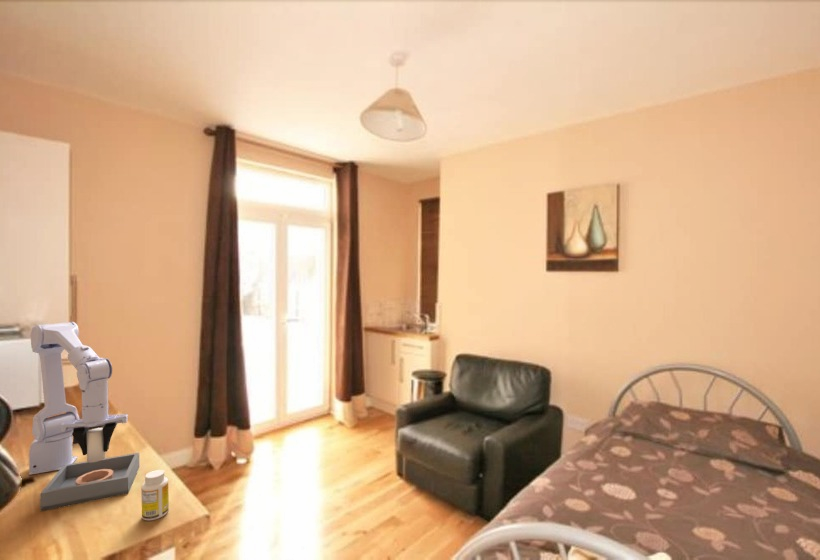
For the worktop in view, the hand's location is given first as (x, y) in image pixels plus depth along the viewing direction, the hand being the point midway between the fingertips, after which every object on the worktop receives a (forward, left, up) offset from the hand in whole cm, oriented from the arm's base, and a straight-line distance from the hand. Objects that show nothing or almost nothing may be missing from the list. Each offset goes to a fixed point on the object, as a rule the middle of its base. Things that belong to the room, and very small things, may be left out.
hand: (95, 451), depth 109 cm
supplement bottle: (+17, -23, -10) cm, 30 cm away
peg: (0, 0, -2) cm, 2 cm away
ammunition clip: (-10, +39, -10) cm, 42 cm away
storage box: (0, -1, -9) cm, 9 cm away
